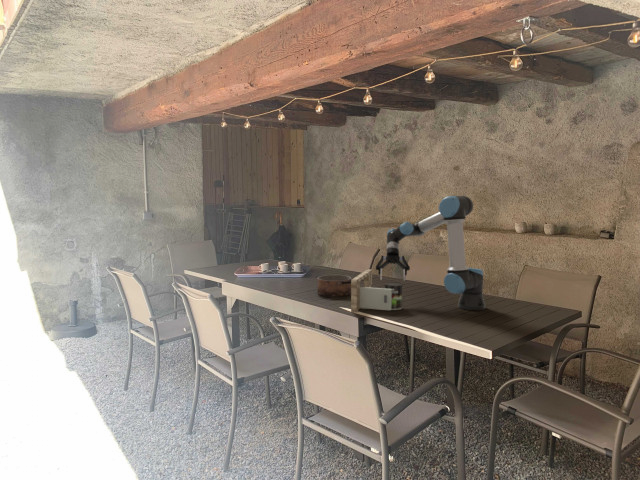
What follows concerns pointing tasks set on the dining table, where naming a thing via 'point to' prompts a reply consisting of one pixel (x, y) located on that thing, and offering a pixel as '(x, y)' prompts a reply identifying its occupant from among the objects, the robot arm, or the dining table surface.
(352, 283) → the door frame
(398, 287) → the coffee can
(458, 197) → the robot arm
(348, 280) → the cooking pot
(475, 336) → the dining table surface
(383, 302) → the door
